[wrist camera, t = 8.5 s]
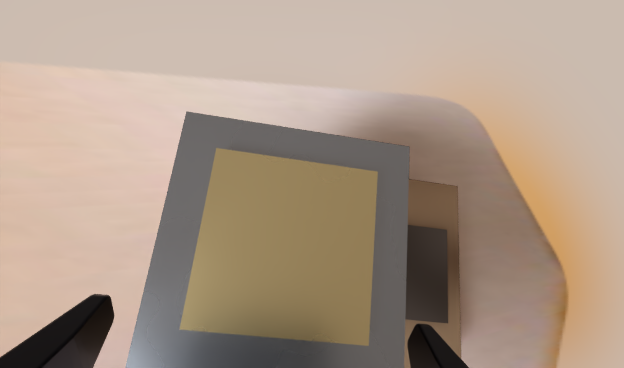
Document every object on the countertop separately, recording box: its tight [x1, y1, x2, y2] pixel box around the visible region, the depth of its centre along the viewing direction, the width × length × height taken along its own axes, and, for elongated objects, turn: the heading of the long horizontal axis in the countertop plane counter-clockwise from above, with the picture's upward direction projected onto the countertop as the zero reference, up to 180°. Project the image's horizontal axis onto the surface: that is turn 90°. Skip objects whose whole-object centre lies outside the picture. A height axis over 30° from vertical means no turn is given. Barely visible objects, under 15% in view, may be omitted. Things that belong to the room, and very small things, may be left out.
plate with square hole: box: [404, 179, 461, 368], centre depth 16 cm, size 10×15×3 cm, turn 84°
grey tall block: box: [125, 112, 409, 368], centre depth 11 cm, size 4×4×12 cm
